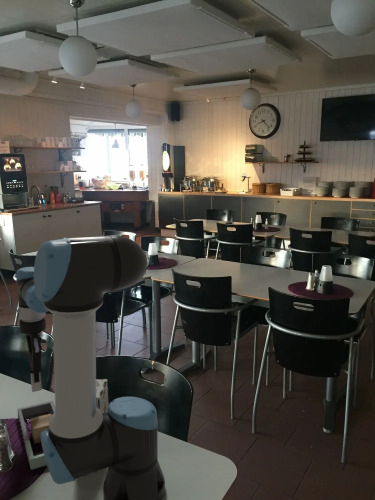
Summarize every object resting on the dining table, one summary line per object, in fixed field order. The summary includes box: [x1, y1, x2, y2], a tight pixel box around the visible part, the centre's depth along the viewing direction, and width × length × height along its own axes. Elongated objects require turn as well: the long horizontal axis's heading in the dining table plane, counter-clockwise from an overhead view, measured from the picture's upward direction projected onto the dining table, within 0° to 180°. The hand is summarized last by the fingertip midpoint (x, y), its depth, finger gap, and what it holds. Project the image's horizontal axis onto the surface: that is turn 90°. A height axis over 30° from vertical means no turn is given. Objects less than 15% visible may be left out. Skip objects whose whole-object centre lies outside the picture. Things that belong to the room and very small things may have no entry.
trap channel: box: [17, 400, 56, 471], centre depth 127 cm, size 28×11×3 cm, turn 28°
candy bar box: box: [96, 378, 109, 413], centre depth 125 cm, size 11×5×16 cm, turn 179°
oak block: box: [30, 413, 52, 445], centre depth 127 cm, size 6×6×5 cm
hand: (36, 389), depth 133 cm, fingers closed
